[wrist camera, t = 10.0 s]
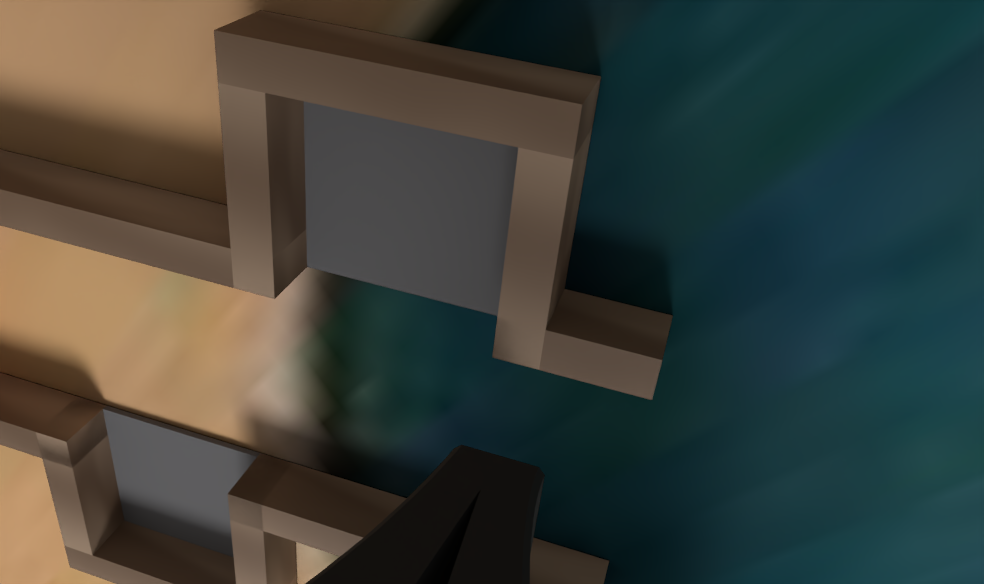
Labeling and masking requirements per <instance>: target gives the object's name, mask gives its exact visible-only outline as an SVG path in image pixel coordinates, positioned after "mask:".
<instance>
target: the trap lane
mask: <svg viewBox="0 0 984 584" xmlns="http://www.w3.org/2000/svg"><path fill="white" fill-rule="evenodd" d="M214 37H215V50H216V63H217V76H218V89H219V102H220V115H221V129H222V142H223V155H224V168H225V181H226V194H227V205H223V204H219V203H215V202H211V201H207V200H203V199H199V198H195V197H191V196H187V195H183V194H179V193H174V192H170V191H166V190H162V189H158V188H154V187H150V186H146V185H142V184H138V183H134V182H130V181H126V180H122V179H118V178H114V177H110V176H106V175H102V174H98V173H94V172H89V171H85V170H81V169H77V168H73V167H69V166H65V165H61V164H57V163H53V162H49V161H45V160H41V159H37V158H33V157H29V156H25V155H21V154H17V153H13V152H9V151H4V150H0V225H1V226H4V227H8V228H12V229H16V230H19V231H23V232H27V233H31V234H34V235H38V236H42V237H45V238H49V239H53V240H57V241H60V242H64V243H68V244H72V245H75V246H79V247H83V248H86V249H90V250H94V251H98V252H101V253H105V254H109V255H113V256H116V257H120V258H124V259H128V260H131V261H135V262H139V263H142V264H146V265H150V266H154V267H157V268H161V269H165V270H169V271H172V272H176V273H180V274H183V275H187V276H191V277H195V278H198V279H202V280H206V281H210V282H213V283H217V284H221V285H224V286H228V287H232V288H236V289H239V290H243V291H247V292H251V293H254V294H258V295H262V296H265V297H269V298H273V299H275V298H276V297H277V296H278V295H279V294H280V293H281V292H282V291H283V290H284V289H285V288H286V287H287V286H288V285H289V284H290V283H291V282H292V281H293V280H294V279H295V278H296V277H297V276H298V275H299V274H300V273H301V272H302V271H303V270H304V269H305V268H306V267H310V268H314V269H318V270H322V271H325V272H329V273H333V274H337V275H341V276H345V277H349V278H353V279H356V280H360V281H364V282H368V283H372V284H376V285H380V286H384V287H387V288H391V289H395V290H399V291H403V292H407V293H411V294H415V295H419V296H422V297H426V298H430V299H434V300H438V301H442V302H446V303H450V304H453V305H457V306H461V307H465V308H469V309H473V310H477V311H481V312H484V313H488V314H492V315H496V316H498V317H497V325H496V333H495V341H494V349H493V358H497V359H500V360H504V361H508V362H512V363H515V364H519V365H523V366H526V367H530V368H534V369H538V370H541V371H545V372H549V373H553V374H556V375H560V376H564V377H567V378H571V379H575V380H579V381H582V382H586V383H590V384H594V385H597V386H601V387H605V388H608V389H612V390H616V391H620V392H623V393H627V394H631V395H635V396H638V397H642V398H646V399H650V400H652V398H653V394H654V390H655V386H656V383H657V379H658V375H659V371H660V367H661V363H662V359H663V355H664V351H665V347H666V342H667V338H668V334H669V330H670V325H671V321H672V317H673V316H672V315H668V314H664V313H660V312H656V311H652V310H648V309H644V308H640V307H636V306H632V305H628V304H624V303H620V302H616V301H612V300H608V299H604V298H600V297H595V296H591V295H587V294H583V293H579V292H575V291H571V290H567V289H565V283H566V277H567V271H568V266H569V260H570V254H571V248H572V242H573V237H574V231H575V225H576V219H577V213H578V208H579V202H580V196H581V190H582V184H583V179H584V173H585V167H586V161H587V155H588V150H589V144H590V138H591V132H592V126H593V121H594V115H595V109H596V103H597V97H598V92H599V86H600V80H601V76H596V75H591V74H586V73H581V72H576V71H570V70H565V69H560V68H555V67H550V66H545V65H540V64H534V63H529V62H524V61H519V60H514V59H509V58H504V57H498V56H493V55H488V54H483V53H478V52H473V51H467V50H462V49H457V48H452V47H447V46H442V45H437V44H431V43H426V42H421V41H416V40H411V39H406V38H401V37H395V36H390V35H385V34H380V33H375V32H370V31H364V30H359V29H354V28H349V27H344V26H339V25H334V24H328V23H323V22H318V21H313V20H308V19H303V18H298V17H292V16H287V15H282V14H277V13H272V12H267V11H261V10H260V11H258V12H256V13H253V14H251V15H249V16H246V17H244V18H242V19H239V20H237V21H235V22H232V23H230V24H228V25H225V26H223V27H221V28H218V29H216V30H214ZM0 445H3V446H6V447H9V448H13V449H16V450H19V451H22V452H25V453H28V454H31V455H34V456H37V457H40V458H42V459H43V463H44V467H45V470H46V474H47V478H48V482H49V486H50V490H51V494H52V498H53V502H54V506H55V510H56V514H57V518H58V522H59V526H60V530H61V534H62V538H63V542H64V545H65V549H66V553H67V557H68V561H69V565H70V567H71V568H74V569H77V570H79V571H82V572H85V573H88V574H91V575H93V576H96V577H99V578H102V579H105V580H107V581H110V582H113V583H116V584H297V570H296V543H295V542H298V543H301V544H304V545H307V546H310V547H313V548H316V549H319V550H322V551H325V552H328V553H331V554H334V555H337V556H341V555H343V554H344V553H345V552H346V551H348V550H349V549H350V548H351V547H353V546H354V545H355V544H356V543H358V542H359V541H360V540H361V539H362V538H364V537H365V536H366V535H367V534H368V533H369V532H371V531H372V530H373V529H374V528H375V527H376V526H377V525H378V524H379V523H381V522H382V521H383V520H384V519H385V518H386V517H387V516H388V515H389V514H390V513H392V512H393V511H394V510H395V509H396V508H397V507H398V506H399V505H400V504H401V503H402V502H404V501H405V500H406V499H407V498H404V497H401V496H397V495H394V494H391V493H388V492H384V491H381V490H378V489H375V488H372V487H368V486H365V485H362V484H359V483H355V482H352V481H349V480H346V479H342V478H339V477H336V476H333V475H329V474H326V473H323V472H320V471H317V470H313V469H310V468H307V467H304V466H300V465H297V464H294V463H291V462H287V461H284V460H281V459H278V458H275V457H271V456H268V455H265V454H262V453H258V452H255V451H252V450H249V449H245V448H242V447H239V446H236V445H232V444H229V443H226V442H223V441H220V440H216V439H213V438H210V437H207V436H203V435H200V434H197V433H194V432H190V431H187V430H184V429H181V428H178V427H174V426H171V425H168V424H165V423H161V422H158V421H155V420H152V419H148V418H145V417H142V416H139V415H135V414H132V413H129V412H126V411H123V410H119V409H116V408H113V407H110V406H106V405H103V404H100V403H97V402H93V401H90V400H87V399H84V398H81V397H77V396H74V395H71V394H68V393H64V392H61V391H58V390H55V389H51V388H48V387H45V386H42V385H38V384H35V383H32V382H29V381H26V380H22V379H19V378H16V377H13V376H9V375H6V374H3V373H0ZM608 564H609V561H608V560H604V559H601V558H598V557H595V556H591V555H588V554H585V553H582V552H578V551H575V550H572V549H569V548H566V547H562V546H559V545H556V544H553V543H549V542H546V541H543V540H540V539H536V538H533V542H532V548H531V553H530V584H604V580H605V576H606V572H607V568H608Z"/></svg>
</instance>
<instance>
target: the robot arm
mask: <svg viewBox="0 0 984 584" xmlns="http://www.w3.org/2000/svg"><path fill="white" fill-rule="evenodd" d="M544 477H545V475H544V474H543V472H542V471H541V470H540V468H539V467H536V466H533V465H529V464H526V463H522V462H519V461H516V460H512V459H509V458H505V457H502V456H498V455H495V454H492V453H488V452H485V451H481V450H478V449H474V448H471V447H468V446H464V445H461V446H458V447H456V448H454V449H453V450H452V452H451V453H450V454H449V455H448V456H447V457H446V459H445V460H444V461H443V462H442V463H441V464H440V465H439V466H438V467H437V468H436V469H435V470H434V472H433V473H432V474H431V475H430V476H429V477H428V478H427V479H426V480H425V481H424V482H423V483H422V484H421V485H420V486H419V487H418V488H417V489H416V490H415V491H414V492H413V493H412V494H411V495H410V496H409V497H408V498H407V499H406V500H405V501H404V502H402V503H401V504H400V505H399V506H398V507H397V508H396V509H395V510H394V511H393V512H392V513H390V514H389V515H388V516H387V517H386V518H385V519H384V520H383V521H382V522H381V523H379V524H378V525H377V526H376V527H375V528H374V529H373V530H372V531H371V532H369V533H368V534H367V535H366V536H365V537H364V538H362V539H361V540H360V541H359V542H358V543H356V544H355V545H354V546H353V547H351V548H350V549H349V550H348V551H346V552H345V553H344V554H343V555H341V556H340V557H339V558H338V559H337V560H335V561H334V562H333V563H332V564H330V565H329V566H328V567H327V568H325V569H324V570H323V571H322V572H320V573H319V574H318V575H316V576H315V577H314V578H312V579H311V580H310V581H308V582H307V583H305V584H530V553H531V548H532V542H533V537H534V531H535V526H536V521H537V515H538V510H539V504H540V499H541V493H542V488H543V482H544Z"/></svg>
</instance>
